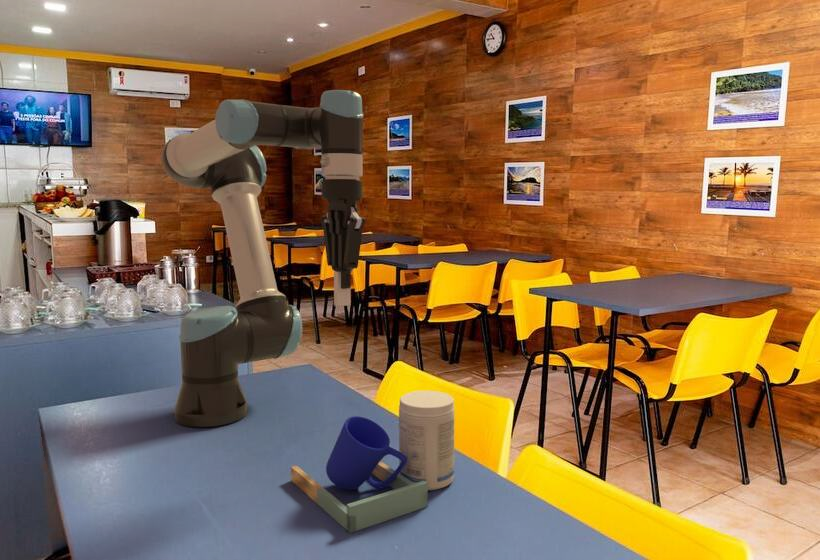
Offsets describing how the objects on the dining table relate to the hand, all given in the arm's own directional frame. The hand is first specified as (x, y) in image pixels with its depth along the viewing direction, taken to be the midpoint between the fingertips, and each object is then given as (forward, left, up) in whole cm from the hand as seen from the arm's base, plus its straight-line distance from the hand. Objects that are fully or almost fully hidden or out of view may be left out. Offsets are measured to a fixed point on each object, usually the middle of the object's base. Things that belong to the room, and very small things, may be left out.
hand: (342, 305), depth 117 cm
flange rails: (+17, -7, -28) cm, 34 cm away
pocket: (+17, -7, -28) cm, 34 cm away
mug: (+15, -7, -28) cm, 32 cm away
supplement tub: (+20, +6, -29) cm, 35 cm away
